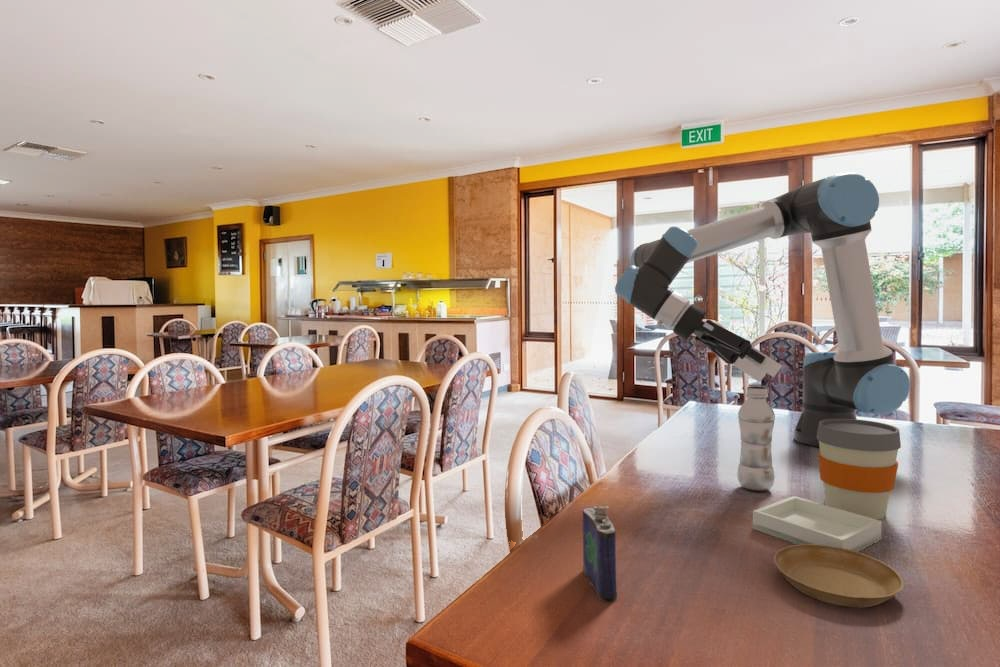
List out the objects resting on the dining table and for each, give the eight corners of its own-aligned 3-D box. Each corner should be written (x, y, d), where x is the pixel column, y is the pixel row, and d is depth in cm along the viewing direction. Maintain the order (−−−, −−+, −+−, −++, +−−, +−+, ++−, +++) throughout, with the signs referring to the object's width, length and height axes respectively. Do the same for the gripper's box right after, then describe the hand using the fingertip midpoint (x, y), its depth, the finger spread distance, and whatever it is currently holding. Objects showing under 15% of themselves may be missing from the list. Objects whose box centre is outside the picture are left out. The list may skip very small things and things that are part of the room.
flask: (580, 569, 83) (580, 494, 82) (600, 567, 83) (600, 493, 83) (600, 603, 74) (600, 520, 73) (623, 602, 74) (623, 518, 73)
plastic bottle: (778, 495, 112) (780, 390, 110) (740, 493, 113) (742, 389, 111) (769, 484, 118) (771, 385, 116) (733, 482, 119) (735, 384, 118)
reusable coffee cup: (870, 529, 95) (873, 438, 94) (799, 505, 106) (801, 423, 105) (914, 515, 101) (917, 429, 100) (842, 493, 112) (844, 415, 111)
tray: (793, 512, 103) (793, 495, 103) (881, 540, 91) (881, 521, 91) (752, 528, 96) (753, 510, 96) (842, 560, 85) (842, 540, 84)
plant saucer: (932, 606, 73) (933, 585, 73) (837, 627, 69) (837, 605, 68) (833, 555, 87) (834, 538, 87) (749, 570, 83) (749, 552, 82)
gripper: (668, 339, 139) (748, 392, 133) (674, 320, 115) (772, 385, 109) (687, 313, 139) (768, 365, 133) (697, 289, 115) (796, 352, 109)
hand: (770, 374), depth 121 cm, fingers open, 13 cm apart
